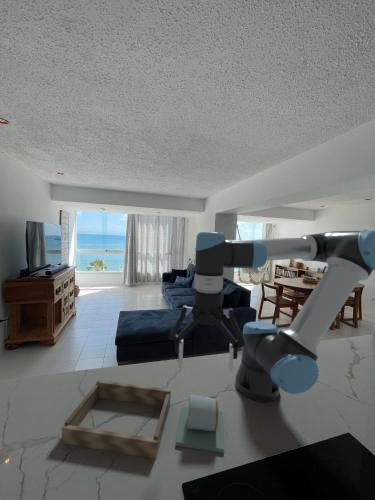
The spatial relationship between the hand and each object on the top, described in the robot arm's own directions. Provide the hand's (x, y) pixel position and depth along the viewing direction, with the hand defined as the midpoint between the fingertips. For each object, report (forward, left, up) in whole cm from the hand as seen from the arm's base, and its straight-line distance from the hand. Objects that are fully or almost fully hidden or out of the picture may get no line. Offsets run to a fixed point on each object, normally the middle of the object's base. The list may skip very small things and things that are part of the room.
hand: (205, 367), depth 60 cm
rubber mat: (0, 0, -17) cm, 17 cm away
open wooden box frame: (+22, +2, -18) cm, 28 cm away
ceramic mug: (0, -1, -17) cm, 17 cm away
